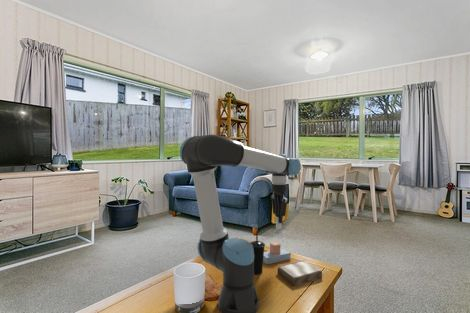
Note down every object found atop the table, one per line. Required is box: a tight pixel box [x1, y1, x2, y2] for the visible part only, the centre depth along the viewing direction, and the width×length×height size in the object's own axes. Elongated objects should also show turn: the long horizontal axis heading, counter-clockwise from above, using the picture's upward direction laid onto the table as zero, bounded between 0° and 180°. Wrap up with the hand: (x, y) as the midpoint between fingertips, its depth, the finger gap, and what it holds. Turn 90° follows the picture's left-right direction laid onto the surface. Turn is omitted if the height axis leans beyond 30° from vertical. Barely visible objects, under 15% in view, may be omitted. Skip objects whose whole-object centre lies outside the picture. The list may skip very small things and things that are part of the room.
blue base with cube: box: [263, 241, 292, 265], centre depth 130 cm, size 15×7×8 cm, turn 115°
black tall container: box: [249, 230, 266, 276], centre depth 116 cm, size 8×8×20 cm
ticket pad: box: [277, 259, 323, 287], centre depth 113 cm, size 16×12×4 cm
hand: (278, 228), depth 127 cm, fingers closed
